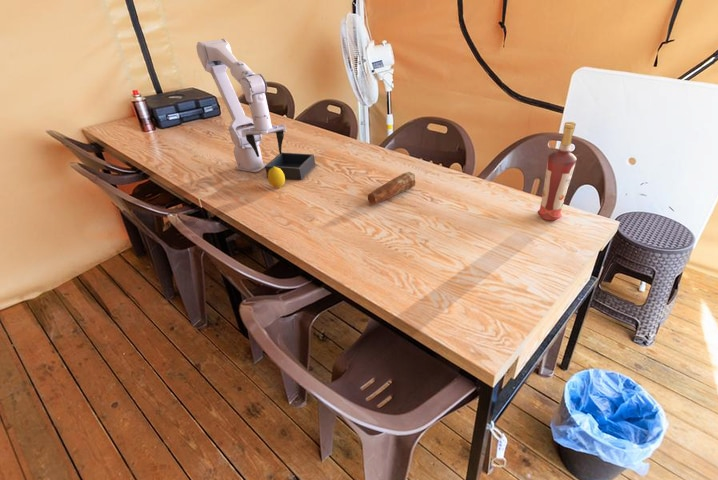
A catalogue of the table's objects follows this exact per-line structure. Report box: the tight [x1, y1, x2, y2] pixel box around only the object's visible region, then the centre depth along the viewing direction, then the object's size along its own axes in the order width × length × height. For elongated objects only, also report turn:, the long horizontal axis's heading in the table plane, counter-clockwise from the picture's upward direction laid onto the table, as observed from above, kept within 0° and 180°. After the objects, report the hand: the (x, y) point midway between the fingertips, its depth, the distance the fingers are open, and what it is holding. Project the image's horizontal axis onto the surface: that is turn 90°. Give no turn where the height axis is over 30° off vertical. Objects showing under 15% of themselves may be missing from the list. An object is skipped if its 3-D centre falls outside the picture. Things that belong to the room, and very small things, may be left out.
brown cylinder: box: [367, 171, 416, 205], centre depth 133 cm, size 6×19×6 cm, turn 133°
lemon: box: [267, 167, 286, 189], centre depth 138 cm, size 6×6×8 cm
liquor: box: [537, 121, 577, 222], centre depth 112 cm, size 7×7×28 cm
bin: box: [264, 152, 316, 181], centre depth 151 cm, size 14×14×4 cm
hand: (269, 154), depth 141 cm, fingers open, 7 cm apart
